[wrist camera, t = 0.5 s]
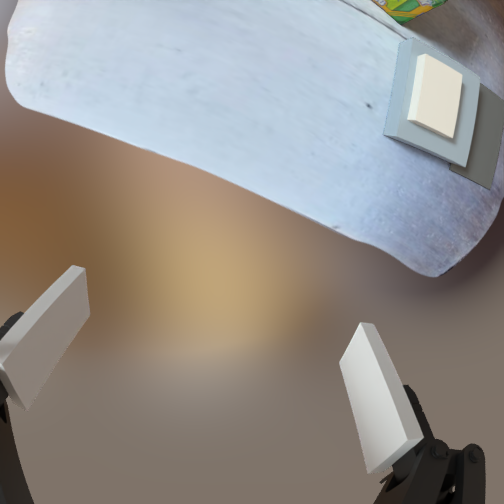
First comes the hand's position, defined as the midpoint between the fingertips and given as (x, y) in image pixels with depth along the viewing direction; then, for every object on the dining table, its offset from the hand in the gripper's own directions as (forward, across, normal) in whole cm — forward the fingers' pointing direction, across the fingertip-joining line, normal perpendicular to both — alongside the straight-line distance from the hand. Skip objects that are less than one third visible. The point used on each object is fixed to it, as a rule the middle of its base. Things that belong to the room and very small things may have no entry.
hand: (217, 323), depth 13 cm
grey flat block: (+26, +22, +19) cm, 39 cm away
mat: (+26, +33, +19) cm, 46 cm away
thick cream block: (+22, +20, +19) cm, 35 cm away
